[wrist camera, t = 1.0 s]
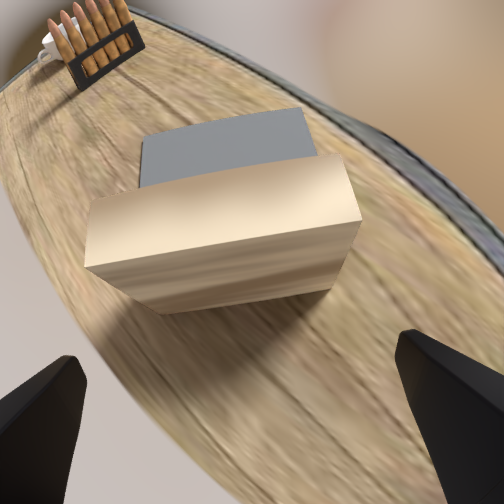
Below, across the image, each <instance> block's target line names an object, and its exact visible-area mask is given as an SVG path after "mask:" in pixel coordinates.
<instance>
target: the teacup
mask: <svg viewBox="0 0 504 504" xmlns="http://www.w3.org/2000/svg"><path fill="white" fill-rule="evenodd" d="M71 20H72V22H73V24H74V25H75V27H76V29H77V30H78V31H79V32H80V28H79V25H78V22H77V20H76V17H74V18H72V19H71ZM58 28H59V29H60V31H61V33H62V34H63V36H64V37H65V38H66V39H67V41H68V42H69V44H70V46H71V48H72V49H73V47H72V45H71V43H70V41H69V39H68V36H67V33H66V31H65V28H64V26H63V24H60V25H59V26H58ZM80 34H81V32H80ZM81 36H82V34H81ZM82 38H83V36H82ZM83 40H84V38H83ZM84 42H85V40H84ZM42 44H43V45H44V47H45V49H44V50H42V51H41V52H40V53H39V55H38V61H39V63H41V64H46V63H49V62H51V61H53V60H55V59H57V60H63V59H62V57H61V55H60V53H59V51H58V50H57V47H56V44H55V42H54V39H53V37H52V35H51V33H48V34H47V35H46V36H45V38H44V39H43V41H42ZM85 44H86V42H85ZM73 51H74V49H73ZM42 53H49V54H50V55H51V58H50V59H49V60H47V61H45V62H43V61H41V59H40V56H41V54H42ZM74 53H75V51H74Z"/></svg>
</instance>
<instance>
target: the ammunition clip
mask: <svg viewBox="0 0 504 504" xmlns="http://www.w3.org/2000/svg"><path fill="white" fill-rule="evenodd" d="M85 2H86V7H87V10H88V12H89V15H90V18H91V22H92V25H93V26H92V25H91V23H90V22H89V21H88V19H87V17H86V16H85V14H84V12H83V10H82V9H81V7H80V6H79V5H78V4H77V3H76V2H74V3H73V11H74V14H75V17H76V20H77V22H78V25H79V28H80V32H81V34H82V36H83V38H84V40H85V42H86V44H85V42H84V40H83V38H82V36H81V34H80V32H79V31H78V30H77V29H76V27H75V25H74V24H73V22H72V20H71V19H70V17H69V16H68V15H67V14H66V13H65V12H64V11H63V10H61V11H60V16H61V20H62V24H63V26H64V28H65V31H66V33H67V36H68V39H69V41H70V43H71V45H72V47H73V49H74V51H75V53H74V51H73V49H72V48H71V46H70V44H69V42H68V41H67V39H66V38H65V37H64V36H63V34H62V33H61V31H60V29H59V28H58V26H57V25H56V24H55V23H54V22H53V21H52V20H51V19H48V27H49V30H50V33H51V35H52V37H53V39H54V42H55V44H56V47H57V50H58V51H59V53H60V55H61V57H62V59H63V60H64V62H65V64H66V66H67V68H68V70H69V72H70V74H71V76H72V78H73V80H74V82H75V84H76V86H77V88H78V89H79V90H81V91H84V90H85V89H87V88H88V87H89V86H91V85H92V84H93V83H95V82H96V81H97V80H99V79H100V78H101V77H103V76H104V75H106V74H107V73H108V72H110V71H111V70H113V69H114V68H115V67H117V66H118V65H120V64H121V63H123V62H124V61H126V60H127V59H129V58H130V57H132V56H133V55H135V54H136V53H138V52H140V51H141V50H143V49H144V48H145V44H144V42H143V40H142V38H141V36H140V33H139V31H138V29H137V27H136V24H135V22H134V20H132V18H131V15H130V13H129V10H128V8H127V5H126V3H125V2H124V0H113V3H114V8H115V10H114V9H113V8H112V6H111V4H110V2H109V0H99V3H100V6H101V9H102V12H103V17H104V18H103V17H102V15H101V14H100V12H99V10H98V8H97V6H96V4H95V3H94V1H93V0H85ZM116 14H117V15H116ZM104 19H105V20H104ZM106 24H107V25H106ZM107 26H108V27H107ZM93 27H94V28H93ZM94 30H95V31H94ZM95 32H96V33H95ZM96 34H97V35H96ZM97 36H98V37H97ZM92 56H93V57H92ZM93 58H94V59H93ZM94 60H95V61H94ZM95 62H96V63H95ZM81 64H82V66H83V67H82V66H81ZM96 64H97V65H96ZM83 68H84V69H83ZM84 70H85V71H86V73H85V71H84Z"/></svg>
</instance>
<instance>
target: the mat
mask: <svg viewBox="0 0 504 504" xmlns="http://www.w3.org/2000/svg"><path fill="white" fill-rule="evenodd" d="M312 156H318V155H317V152H316V149H315V146H314V143H313V140H312V137H311V134H310V132H309V129H308V126H307V123H306V120H305V117H304V115H303V112H302V109H301V107H298V108H290V109H282V110H275V111H268V112H261V113H254V114H248V115H242V116H236V117H231V118H225V119H220V120H215V121H209V122H204V123H200V124H195V125H190V126H186V127H181V128H177V129H173V130H169V131H164V132H160V133H156V134H152V135H149V136H145V137H144V138H143V150H142V162H141V176H140V188H142V187H146V186H151V185H155V184H159V183H164V182H168V181H173V180H178V179H182V178H187V177H192V176H197V175H202V174H207V173H212V172H218V171H223V170H228V169H234V168H240V167H245V166H251V165H257V164H264V163H270V162H276V161H283V160H290V159H297V158H304V157H312Z"/></svg>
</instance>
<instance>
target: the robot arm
mask: <svg viewBox="0 0 504 504" xmlns="http://www.w3.org/2000/svg"><path fill="white" fill-rule="evenodd" d="M395 362H396V365H397V368H398V372H399V375H400V378H401V381H402V384H403V387H404V391H405V394H406V397H407V400H408V403H409V406H410V409H411V411H412V413H413V416H414V418H415V420H416V423H417V425H418V428H419V430H420V432H421V435H422V437H423V440H424V442H425V445H426V447H427V449H428V452H429V455H430V457H431V460H432V462H433V465H434V467H435V470H436V473H437V475H438V478H439V481H440V483H441V486H442V489H443V492H444V494H445V497H446V500H447V503H448V504H504V375H502V374H500V373H498V372H496V371H494V370H492V369H490V368H489V367H487V366H485V365H483V364H481V363H479V362H477V361H475V360H473V359H471V358H469V357H467V356H466V355H464V354H462V353H460V352H458V351H456V350H454V349H452V348H450V347H448V346H446V345H444V344H443V343H441V342H439V341H437V340H435V339H433V338H431V337H429V336H427V335H425V334H423V333H421V332H419V331H417V330H415V329H410V330H405V331H402V332H401V333H400V334H399V338H398V343H397V347H396V351H395ZM86 387H87V378H86V375H85V374H84V372H83V369H82V367H81V365H80V363H79V361H78V359H77V358H76V357H75V356H68V355H64V356H61V357H60V358H58V359H57V360H56V361H54V362H53V363H51V364H50V365H48V366H47V367H46V368H44V369H43V370H41V371H40V372H38V373H37V374H36V375H34V376H33V377H31V378H30V379H29V380H27V381H26V382H24V383H23V384H21V385H20V386H19V387H17V388H16V389H14V390H13V391H12V392H10V393H9V394H8V395H6V396H5V397H3V398H2V399H1V400H0V504H63V503H64V497H65V492H66V486H67V482H68V476H69V472H70V467H71V462H72V458H73V454H74V450H75V446H76V442H77V437H78V433H79V429H80V424H81V417H82V411H83V405H84V398H85V392H86Z"/></svg>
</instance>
